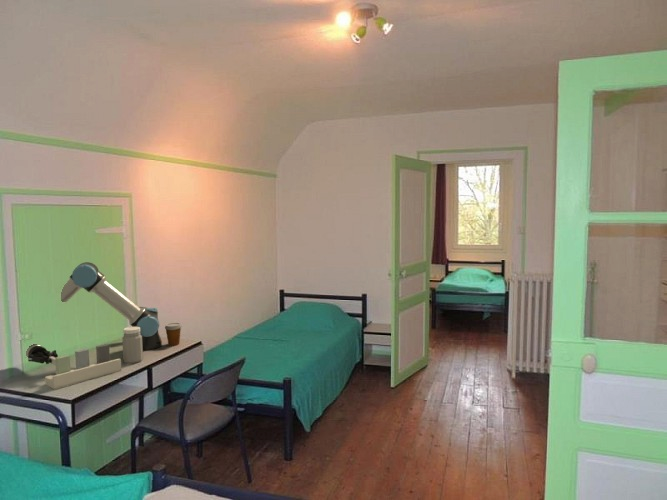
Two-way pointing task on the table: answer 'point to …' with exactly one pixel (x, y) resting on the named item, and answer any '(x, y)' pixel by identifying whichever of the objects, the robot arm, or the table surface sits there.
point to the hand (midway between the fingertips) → (56, 361)
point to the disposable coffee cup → (173, 333)
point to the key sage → (62, 364)
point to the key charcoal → (102, 353)
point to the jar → (132, 345)
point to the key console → (83, 374)
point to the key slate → (82, 358)
